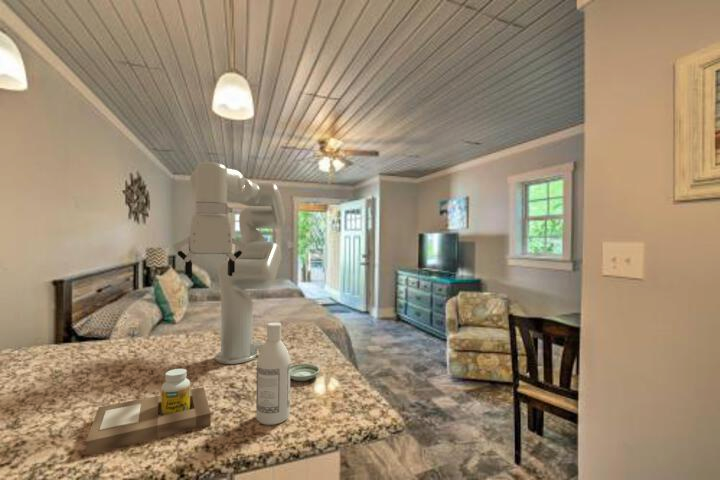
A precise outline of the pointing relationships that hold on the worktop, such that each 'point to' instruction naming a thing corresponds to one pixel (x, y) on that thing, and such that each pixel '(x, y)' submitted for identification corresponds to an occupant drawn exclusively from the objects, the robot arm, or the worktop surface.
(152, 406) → the rack board
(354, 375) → the worktop surface
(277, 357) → the bath foam
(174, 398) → the supplement bottle
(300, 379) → the saucer
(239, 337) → the robot arm
